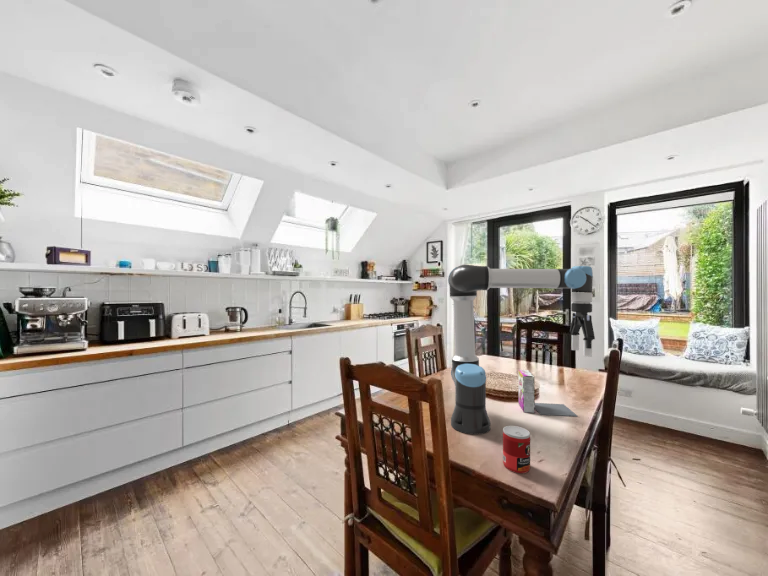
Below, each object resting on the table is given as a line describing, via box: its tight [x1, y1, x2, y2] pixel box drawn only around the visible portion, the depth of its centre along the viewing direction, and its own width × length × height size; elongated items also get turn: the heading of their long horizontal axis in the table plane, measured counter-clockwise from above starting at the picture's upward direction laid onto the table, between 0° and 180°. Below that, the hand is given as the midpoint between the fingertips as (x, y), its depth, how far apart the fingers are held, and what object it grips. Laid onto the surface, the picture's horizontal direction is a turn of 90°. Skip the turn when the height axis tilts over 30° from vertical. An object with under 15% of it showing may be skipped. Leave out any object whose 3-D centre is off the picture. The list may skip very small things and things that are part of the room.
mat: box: [535, 402, 579, 418], centre depth 146 cm, size 15×14×1 cm
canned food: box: [502, 425, 531, 474], centre depth 99 cm, size 8×8×11 cm
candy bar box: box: [517, 369, 536, 414], centre depth 147 cm, size 11×5×16 cm, turn 168°
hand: (581, 353), depth 136 cm, fingers open, 13 cm apart
